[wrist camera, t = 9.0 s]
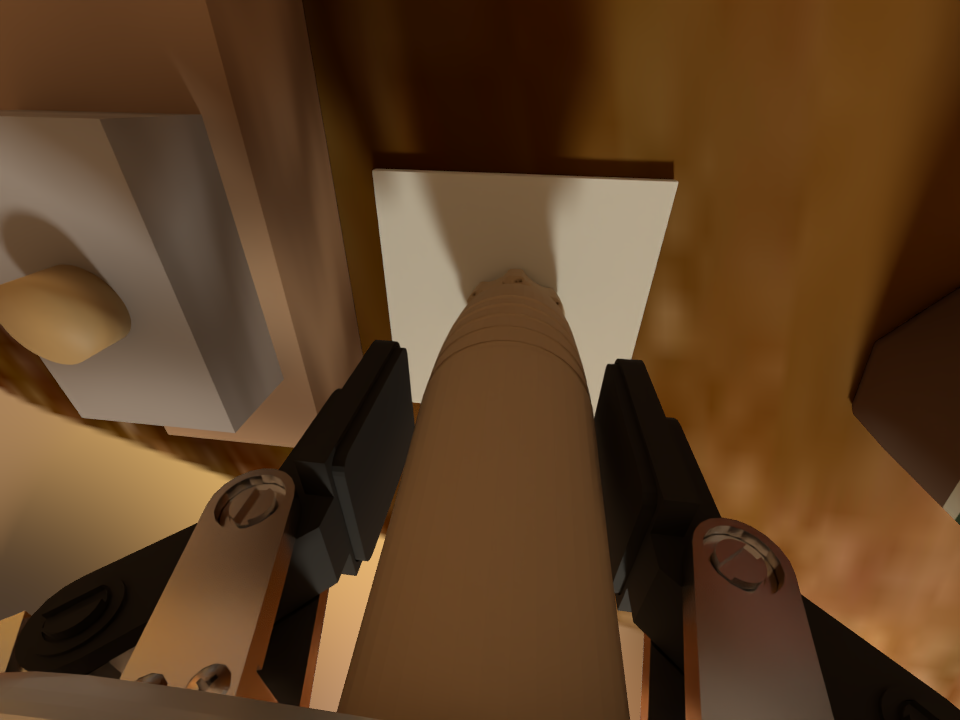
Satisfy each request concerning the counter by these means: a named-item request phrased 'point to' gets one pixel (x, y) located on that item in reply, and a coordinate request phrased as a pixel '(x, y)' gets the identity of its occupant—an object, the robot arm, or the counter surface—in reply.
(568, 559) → the handle
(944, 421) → the brown glass bottle
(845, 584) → the counter surface
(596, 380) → the felt pad
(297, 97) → the body
